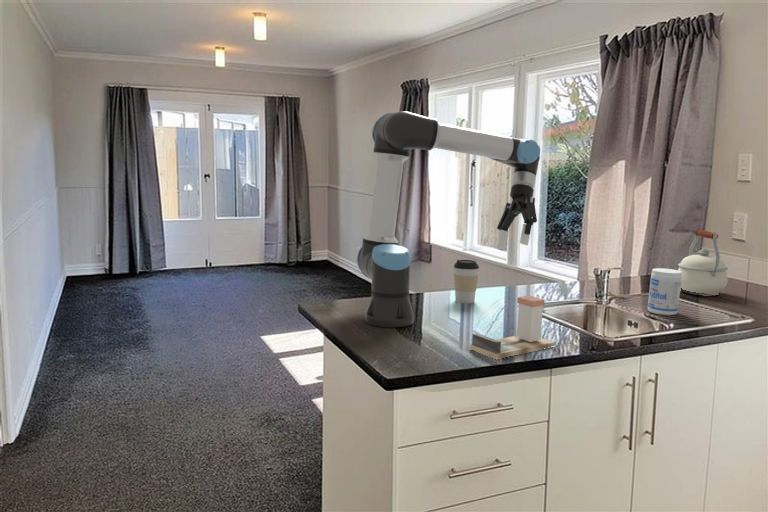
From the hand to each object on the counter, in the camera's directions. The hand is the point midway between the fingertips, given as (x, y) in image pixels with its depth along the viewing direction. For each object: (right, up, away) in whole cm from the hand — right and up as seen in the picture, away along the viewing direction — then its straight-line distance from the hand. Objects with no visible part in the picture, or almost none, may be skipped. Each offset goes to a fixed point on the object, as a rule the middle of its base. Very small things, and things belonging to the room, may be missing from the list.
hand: (512, 246), depth 212 cm
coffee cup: (-14, -20, +16) cm, 29 cm away
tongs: (+45, -19, +31) cm, 58 cm away
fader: (-3, -26, -37) cm, 45 cm away
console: (-8, -28, -40) cm, 50 cm away
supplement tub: (+53, -23, +6) cm, 58 cm away
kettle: (+83, -18, +42) cm, 94 cm away
